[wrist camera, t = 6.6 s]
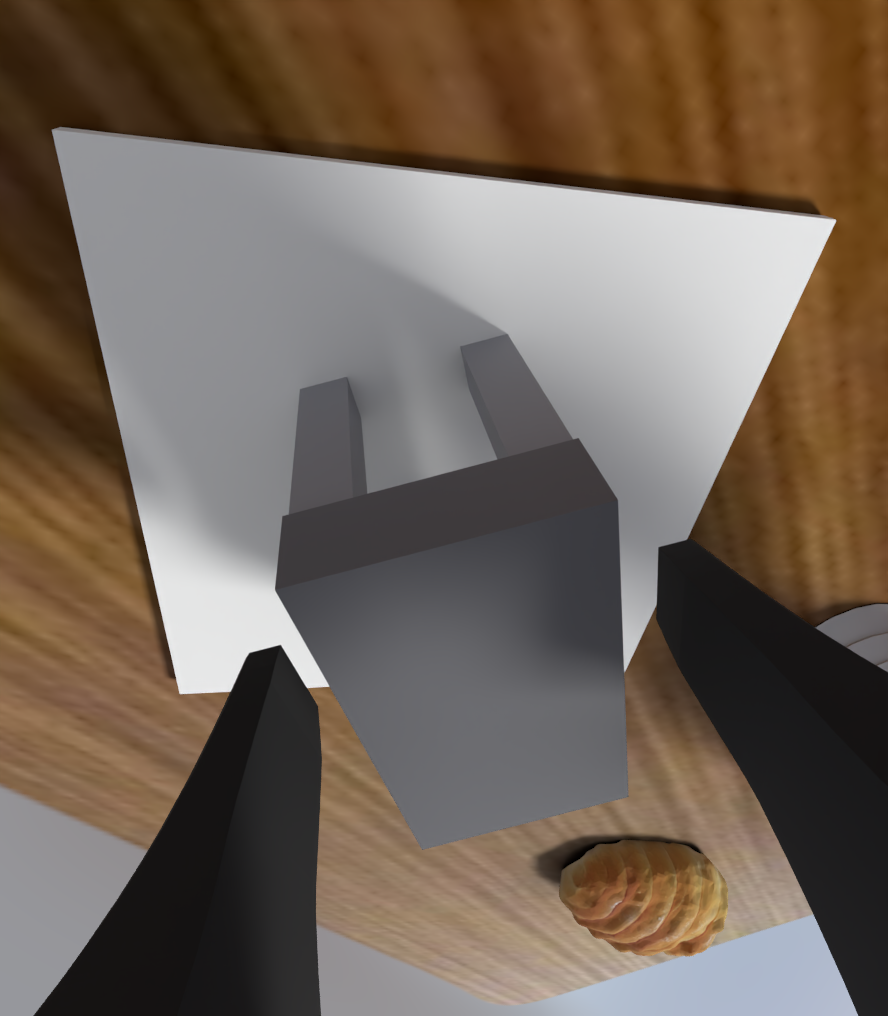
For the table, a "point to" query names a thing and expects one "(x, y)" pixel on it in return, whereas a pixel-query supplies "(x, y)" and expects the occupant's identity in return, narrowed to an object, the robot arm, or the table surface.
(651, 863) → the pastry
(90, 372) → the table surface
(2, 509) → the table surface
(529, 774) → the stool
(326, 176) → the mat
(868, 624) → the chalice
